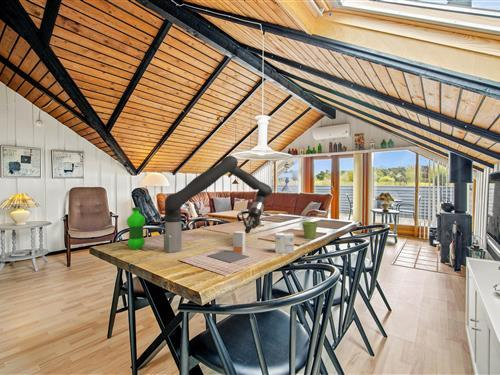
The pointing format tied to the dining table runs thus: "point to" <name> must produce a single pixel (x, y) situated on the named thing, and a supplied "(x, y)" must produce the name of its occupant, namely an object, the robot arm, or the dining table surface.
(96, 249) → the dining table surface
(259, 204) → the robot arm
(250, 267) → the dining table surface
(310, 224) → the plant pot
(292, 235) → the light bulb box
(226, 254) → the mat
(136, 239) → the plastic bottle
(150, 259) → the dining table surface
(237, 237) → the skincare box
